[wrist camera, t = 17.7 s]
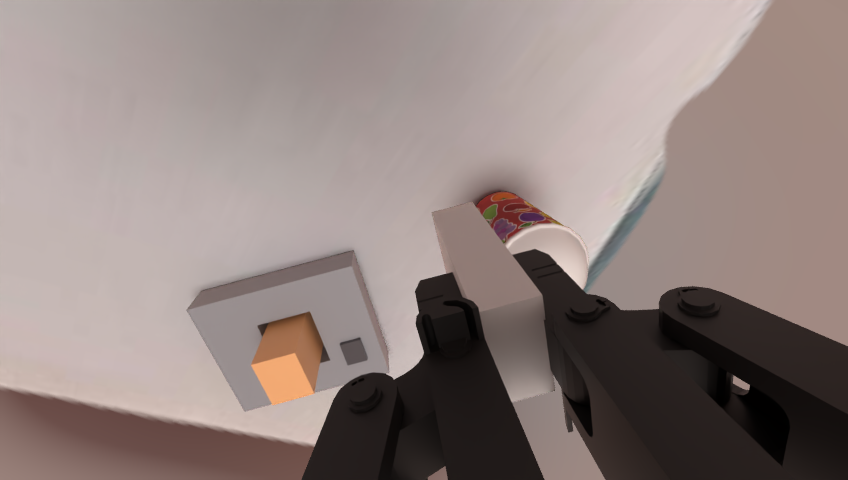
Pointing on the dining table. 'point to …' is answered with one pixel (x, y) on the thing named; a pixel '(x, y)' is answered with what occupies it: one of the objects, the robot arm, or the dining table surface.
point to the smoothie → (535, 233)
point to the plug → (289, 358)
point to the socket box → (284, 297)
